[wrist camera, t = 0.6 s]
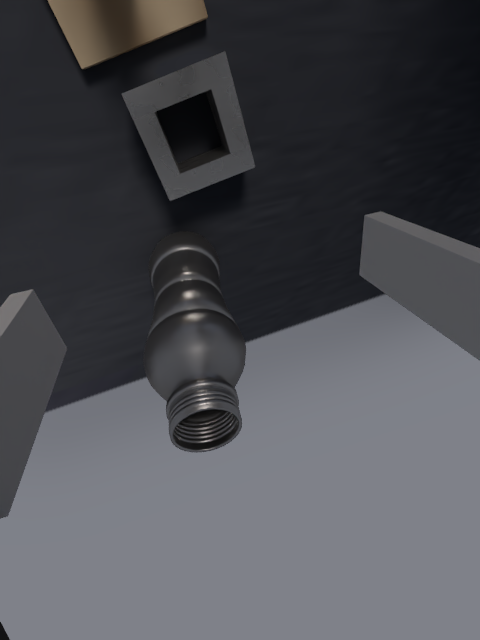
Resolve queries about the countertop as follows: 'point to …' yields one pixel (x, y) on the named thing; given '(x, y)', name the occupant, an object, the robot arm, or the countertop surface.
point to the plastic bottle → (193, 344)
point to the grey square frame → (226, 115)
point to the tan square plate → (121, 24)
